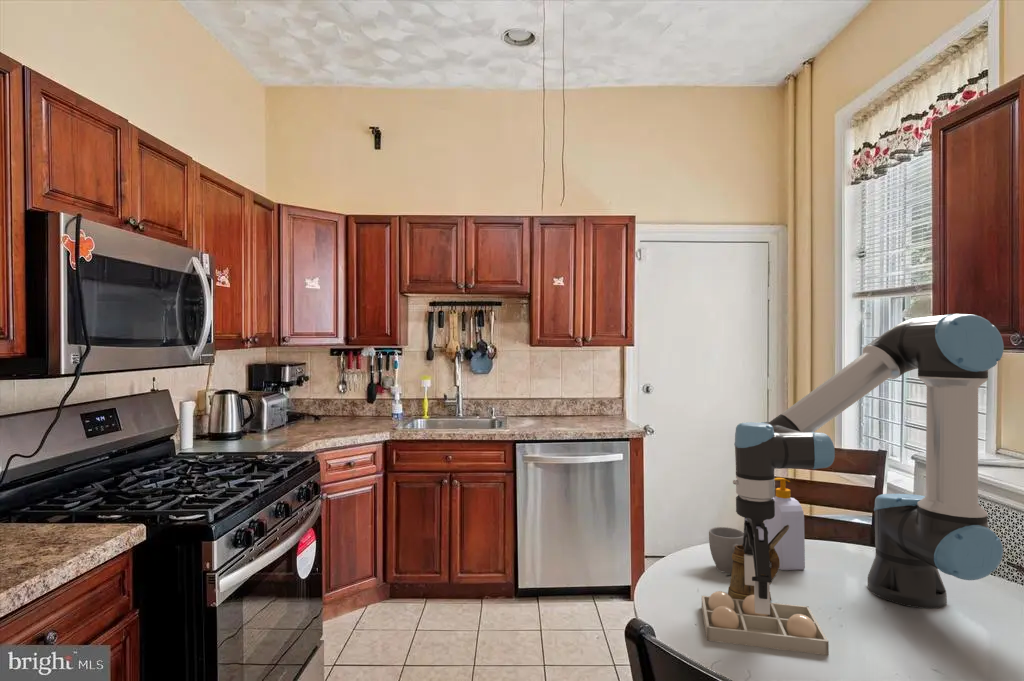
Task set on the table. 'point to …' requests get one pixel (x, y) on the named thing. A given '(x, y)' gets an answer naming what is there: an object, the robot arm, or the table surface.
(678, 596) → the table surface
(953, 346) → the robot arm
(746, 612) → the egg
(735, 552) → the wooden mug
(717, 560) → the mug
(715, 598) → the seated egg
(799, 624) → the seated egg
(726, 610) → the seated egg
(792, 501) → the soap bottle
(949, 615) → the table surface
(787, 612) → the carton
